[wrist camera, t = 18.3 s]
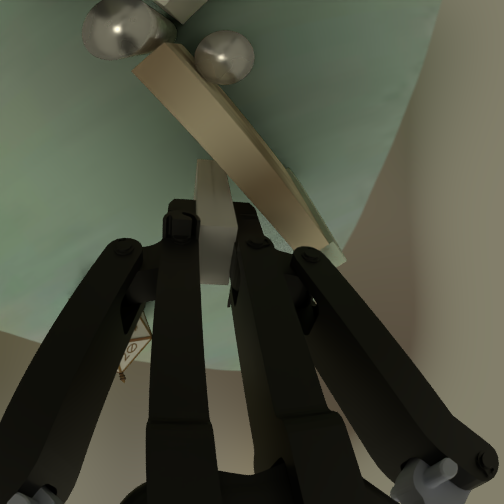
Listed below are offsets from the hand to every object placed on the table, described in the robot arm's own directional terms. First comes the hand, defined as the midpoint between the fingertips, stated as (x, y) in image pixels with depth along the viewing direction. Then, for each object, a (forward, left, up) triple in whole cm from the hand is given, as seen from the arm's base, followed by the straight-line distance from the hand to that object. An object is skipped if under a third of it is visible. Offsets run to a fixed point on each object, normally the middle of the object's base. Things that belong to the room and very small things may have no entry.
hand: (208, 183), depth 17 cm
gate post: (-4, -8, -6) cm, 11 cm away
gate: (-3, 0, -5) cm, 5 cm away
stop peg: (-6, -4, -6) cm, 9 cm away
